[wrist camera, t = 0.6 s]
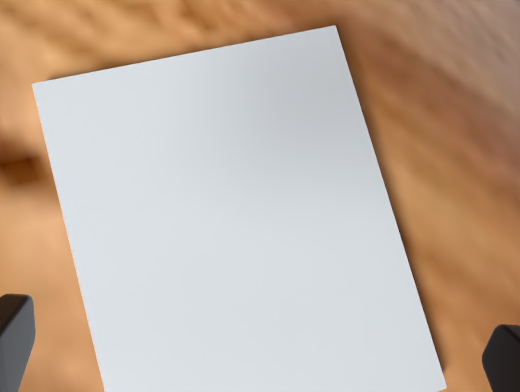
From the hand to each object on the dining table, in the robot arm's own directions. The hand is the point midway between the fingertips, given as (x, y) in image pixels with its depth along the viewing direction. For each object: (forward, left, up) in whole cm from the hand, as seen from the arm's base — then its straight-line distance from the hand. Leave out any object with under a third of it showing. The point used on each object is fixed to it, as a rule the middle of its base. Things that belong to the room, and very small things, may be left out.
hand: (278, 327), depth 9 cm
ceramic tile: (+2, -2, -15) cm, 15 cm away
